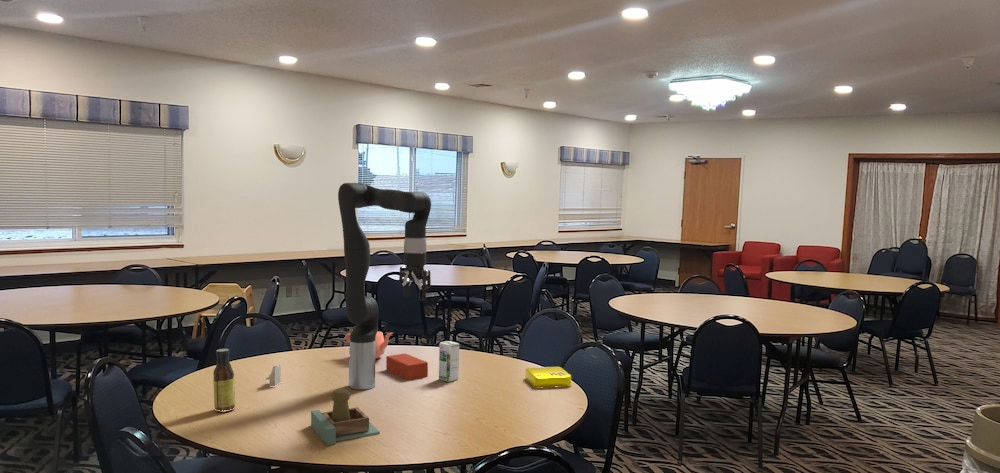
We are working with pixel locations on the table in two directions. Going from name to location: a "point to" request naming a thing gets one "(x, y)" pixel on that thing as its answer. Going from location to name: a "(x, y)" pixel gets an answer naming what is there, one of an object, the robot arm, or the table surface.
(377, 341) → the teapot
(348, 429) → the wooden tray
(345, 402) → the olive knob
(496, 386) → the table surface
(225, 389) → the sauce bottle
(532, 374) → the element tile
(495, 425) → the table surface
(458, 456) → the table surface
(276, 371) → the architectural model
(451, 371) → the syrup box
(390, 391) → the table surface
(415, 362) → the brick
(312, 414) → the track and backstop
